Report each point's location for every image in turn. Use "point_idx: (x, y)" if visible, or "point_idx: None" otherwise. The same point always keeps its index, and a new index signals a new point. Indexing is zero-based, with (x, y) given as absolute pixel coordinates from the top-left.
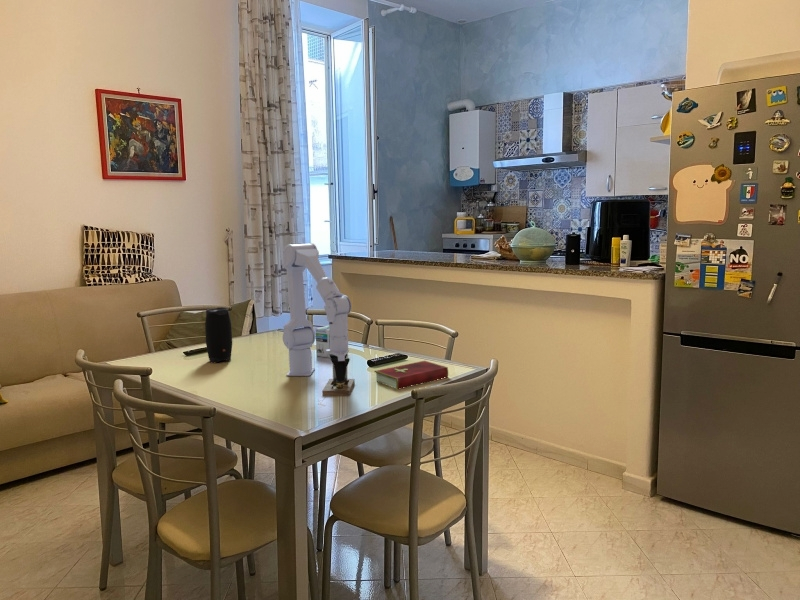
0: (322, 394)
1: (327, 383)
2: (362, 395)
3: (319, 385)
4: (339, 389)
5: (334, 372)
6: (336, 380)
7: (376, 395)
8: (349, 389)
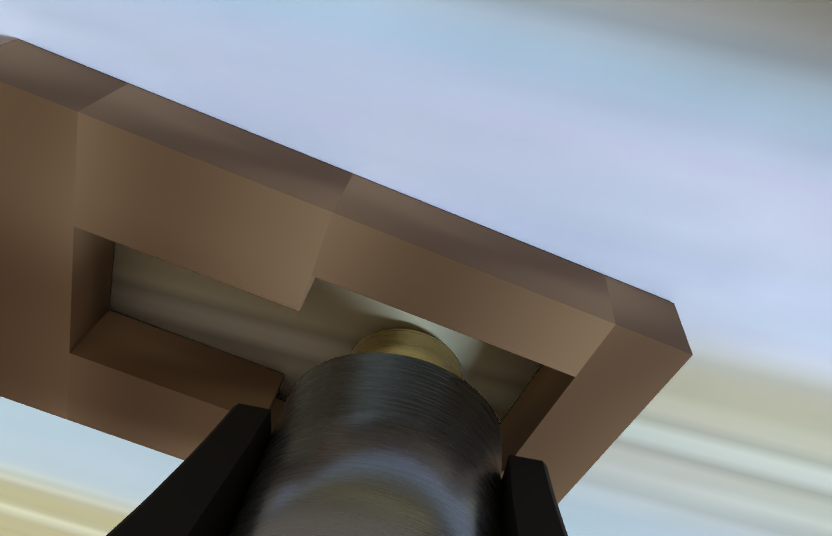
0: (3, 46)
1: (415, 257)
2: (44, 442)
3: (665, 133)
4: (42, 317)
5: (275, 510)
6: (296, 401)
7: (44, 517)
8: (40, 408)
